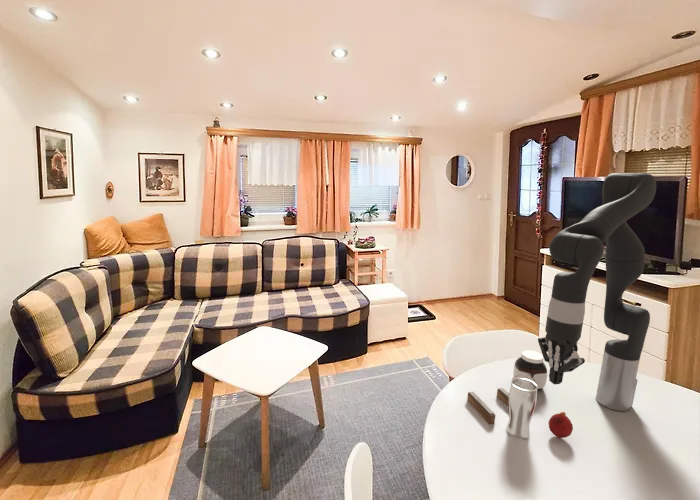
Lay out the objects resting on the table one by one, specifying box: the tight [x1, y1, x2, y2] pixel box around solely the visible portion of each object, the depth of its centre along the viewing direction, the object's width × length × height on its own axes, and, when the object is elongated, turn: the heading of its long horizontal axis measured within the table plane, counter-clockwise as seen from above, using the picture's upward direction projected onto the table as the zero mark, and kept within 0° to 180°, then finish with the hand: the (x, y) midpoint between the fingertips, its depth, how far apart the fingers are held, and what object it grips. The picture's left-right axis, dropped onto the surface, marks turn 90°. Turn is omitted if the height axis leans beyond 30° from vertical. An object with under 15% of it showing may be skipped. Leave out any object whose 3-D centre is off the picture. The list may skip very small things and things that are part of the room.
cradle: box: [466, 387, 509, 426], centre depth 118 cm, size 13×12×3 cm
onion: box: [548, 411, 574, 439], centre depth 106 cm, size 6×6×8 cm
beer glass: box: [505, 378, 538, 440], centre depth 107 cm, size 7×7×15 cm
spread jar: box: [511, 350, 548, 392], centre depth 130 cm, size 12×11×12 cm
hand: (554, 382), depth 95 cm, fingers closed
